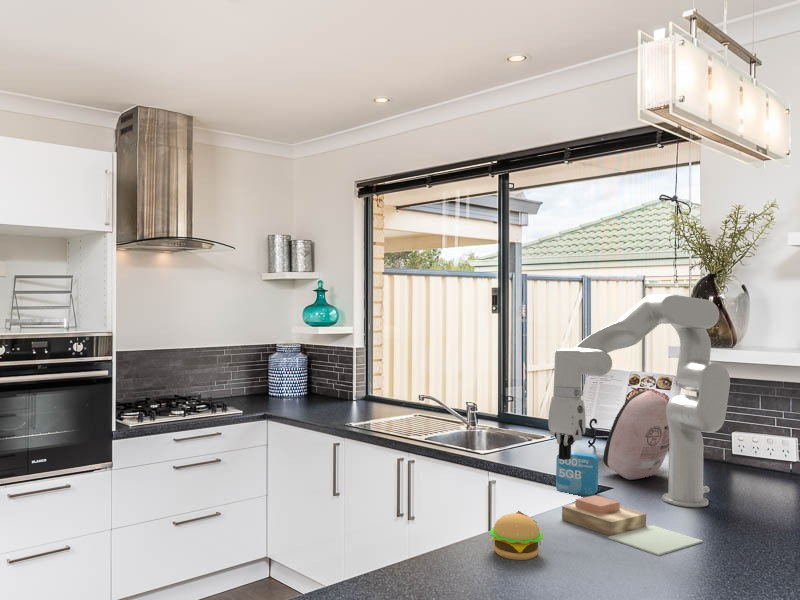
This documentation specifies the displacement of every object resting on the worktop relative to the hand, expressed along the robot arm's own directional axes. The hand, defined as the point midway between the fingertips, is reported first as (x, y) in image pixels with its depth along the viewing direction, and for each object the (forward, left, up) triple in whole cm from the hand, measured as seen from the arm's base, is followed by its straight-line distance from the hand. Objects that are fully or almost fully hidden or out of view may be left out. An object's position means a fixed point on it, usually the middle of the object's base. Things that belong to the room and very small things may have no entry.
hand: (564, 458), depth 191 cm
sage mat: (0, +29, -15) cm, 32 cm away
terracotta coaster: (0, +11, -11) cm, 16 cm away
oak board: (0, +13, -15) cm, 20 cm away
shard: (+19, 0, -15) cm, 24 cm away
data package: (-19, -12, -15) cm, 27 cm away
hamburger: (+35, +17, -15) cm, 42 cm away
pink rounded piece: (-54, -14, -15) cm, 57 cm away
